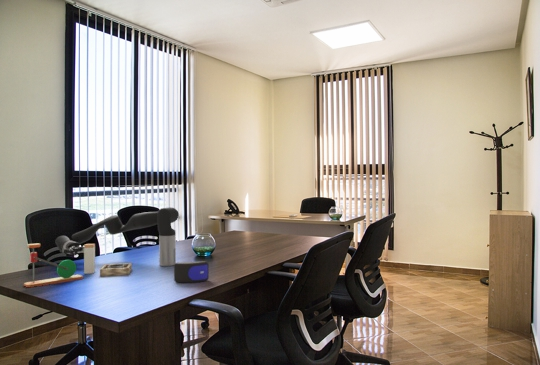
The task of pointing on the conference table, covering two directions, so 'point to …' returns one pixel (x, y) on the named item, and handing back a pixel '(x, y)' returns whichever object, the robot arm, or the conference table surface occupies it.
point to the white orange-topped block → (89, 258)
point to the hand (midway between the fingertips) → (81, 251)
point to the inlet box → (116, 269)
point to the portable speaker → (191, 272)
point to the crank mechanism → (63, 270)
